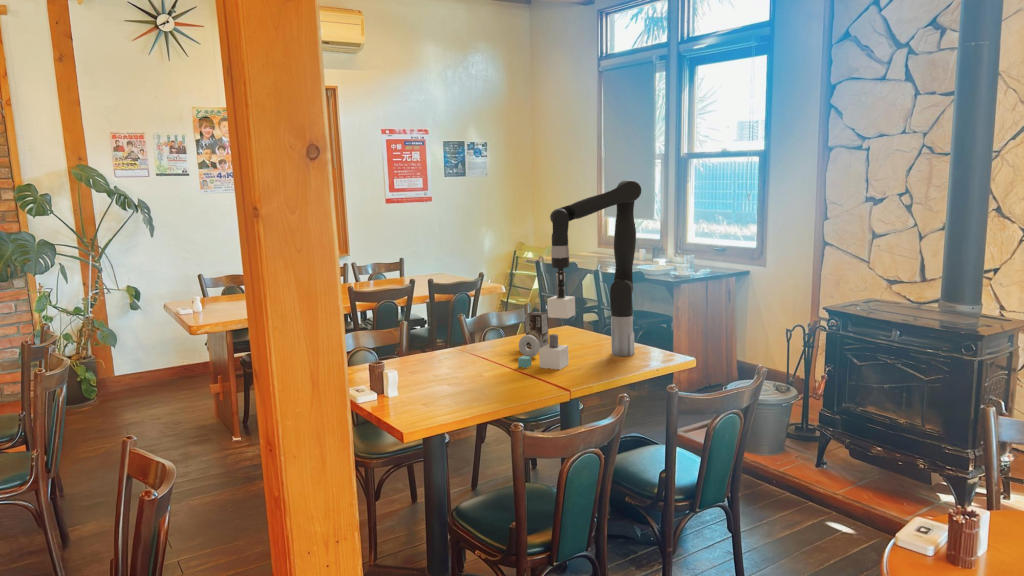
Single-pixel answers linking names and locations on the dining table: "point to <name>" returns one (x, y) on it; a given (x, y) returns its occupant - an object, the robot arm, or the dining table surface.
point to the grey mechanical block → (537, 327)
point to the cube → (524, 361)
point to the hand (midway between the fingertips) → (561, 296)
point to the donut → (534, 343)
